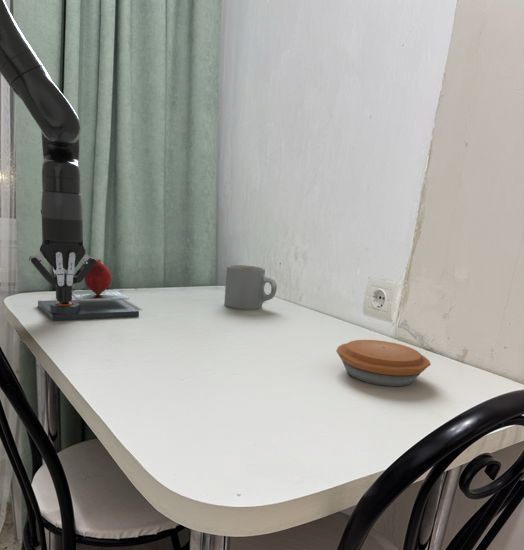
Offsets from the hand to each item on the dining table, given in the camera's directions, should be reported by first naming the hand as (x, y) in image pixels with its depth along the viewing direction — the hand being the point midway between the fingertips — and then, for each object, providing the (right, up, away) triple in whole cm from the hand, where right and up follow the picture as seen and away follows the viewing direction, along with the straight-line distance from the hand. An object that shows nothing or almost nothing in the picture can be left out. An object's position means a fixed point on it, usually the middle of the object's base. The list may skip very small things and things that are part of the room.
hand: (64, 303), depth 104 cm
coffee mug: (+37, +2, +29) cm, 47 cm away
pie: (+61, -14, -17) cm, 65 cm away
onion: (+4, +3, +11) cm, 11 cm away
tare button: (0, -1, +1) cm, 2 cm away
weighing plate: (+4, +3, +11) cm, 12 cm away
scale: (+2, -1, +8) cm, 8 cm away
